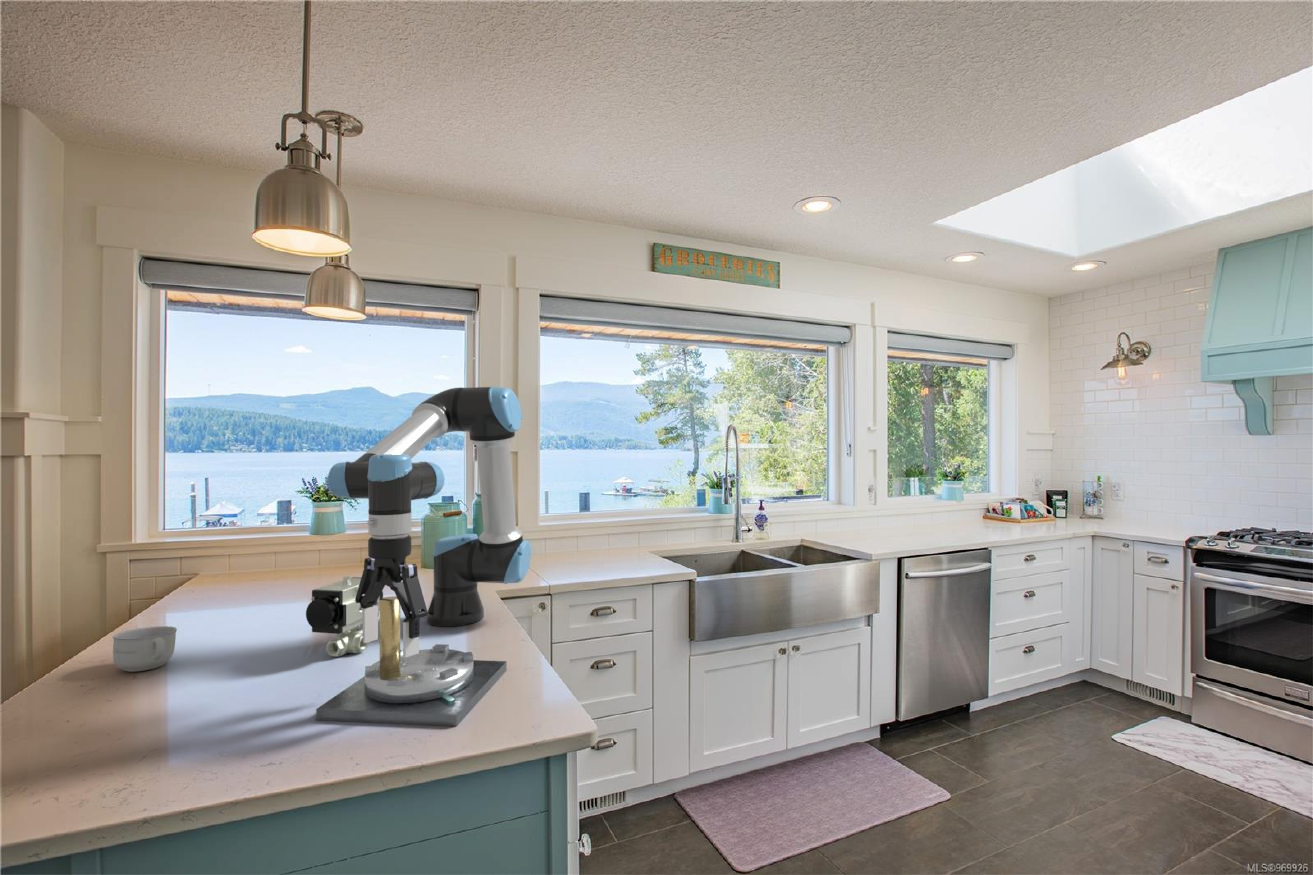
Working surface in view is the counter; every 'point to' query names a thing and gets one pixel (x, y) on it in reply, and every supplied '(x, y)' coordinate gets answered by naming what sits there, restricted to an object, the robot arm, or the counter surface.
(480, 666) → the base plate
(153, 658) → the teacup
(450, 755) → the counter surface
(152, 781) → the counter surface
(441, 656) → the silver tabbed disc
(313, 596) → the ball valve
